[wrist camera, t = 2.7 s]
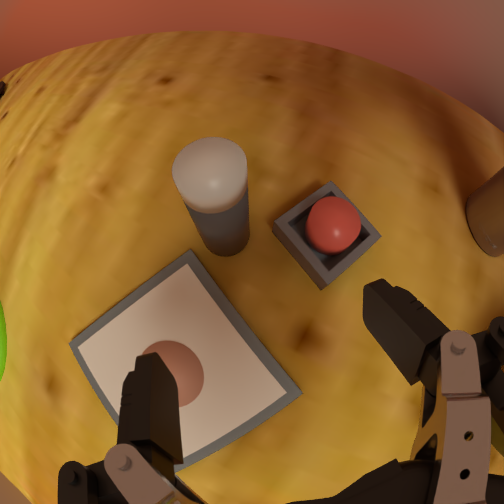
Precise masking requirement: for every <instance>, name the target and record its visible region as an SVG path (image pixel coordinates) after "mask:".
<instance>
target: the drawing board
mask: <svg viewBox="0 0 504 504" xmlns="http://www.w3.org/2000/svg"><path fill="white" fill-rule="evenodd" d="M69 345H70V347H71V349H72V351H73V353H74V355H75V357H76V359H77V361H78V363H79V365H80V367H81V368H82V370H83V372H84V374H85V376H86V377H87V379H88V381H89V383H90V384H91V386H92V388H93V389H94V391H95V392H96V394H97V396H98V397H99V399H100V400H101V402H102V404H103V405H104V407H105V408H106V410H107V411H108V413H109V414H110V416H111V417H112V418H113V420H114V421H115V423H116V424H117V425H118V423H119V412H120V407H121V405H120V403H121V397H122V395H121V394H122V386H123V382H124V380H125V378H126V376H127V374H128V372H130V371H134V369H135V361H136V357H137V356H139V355H144V354H148V353H152V352H157V353H158V354H159V356H160V357H161V359H162V360H163V362H164V363H165V364H166V366H167V367H168V369H169V370H170V372H171V373H172V374H173V376H174V378H175V380H176V383H177V387H178V398H179V415H180V429H181V441H182V451H183V461H184V464H178V465H174V472H178V471H180V470H182V469H184V468H186V467H188V466H190V465H192V464H194V463H196V462H198V461H200V460H201V459H203V458H205V457H207V456H209V455H211V454H212V453H214V452H216V451H218V450H220V449H221V448H223V447H225V446H226V445H228V444H230V443H231V442H233V441H235V440H236V439H238V438H240V437H241V436H243V435H244V434H246V433H248V432H249V431H251V430H252V429H254V428H255V427H257V426H258V425H260V424H261V423H263V422H264V421H266V420H267V419H269V418H270V417H272V416H273V415H274V414H276V413H277V412H279V411H280V410H281V409H283V408H284V407H286V406H287V405H288V404H290V403H291V402H292V401H294V400H295V399H296V398H298V397H299V396H300V395H301V394H303V393H302V391H301V390H300V389H299V388H298V387H297V385H296V384H295V383H294V382H293V381H292V380H291V378H290V377H289V376H288V375H287V374H286V372H285V371H284V370H283V369H282V368H281V366H280V365H279V364H278V363H277V361H276V360H275V359H274V358H273V357H272V355H271V354H270V353H269V352H268V350H267V349H266V348H265V347H264V345H263V344H262V343H261V342H260V340H259V339H258V338H257V337H256V335H255V334H254V333H253V331H252V330H251V329H250V328H249V326H248V325H247V324H246V323H245V321H244V320H243V319H242V317H241V316H240V315H239V313H238V312H237V311H236V310H235V308H234V307H233V306H232V304H231V303H230V302H229V300H228V299H227V298H226V296H225V295H224V294H223V292H222V291H221V290H220V288H219V287H218V286H217V284H216V283H215V282H214V280H213V279H212V278H211V276H210V275H209V274H208V272H207V271H206V269H205V268H204V267H203V265H202V264H201V263H200V261H199V260H198V258H197V257H196V256H195V254H194V253H193V251H192V250H191V249H190V250H188V251H187V252H186V253H184V254H183V255H182V256H180V257H179V258H177V259H176V260H175V261H173V262H172V263H171V264H169V265H168V266H167V267H165V268H164V269H163V270H161V271H160V272H159V273H157V274H156V275H155V276H153V277H152V278H151V279H149V280H148V281H147V282H145V283H144V284H143V285H141V286H140V287H139V288H137V289H136V290H135V291H134V292H132V293H131V294H130V295H128V296H127V297H126V298H124V299H123V300H122V301H121V302H119V303H118V304H117V305H116V306H114V307H113V308H112V309H110V310H109V311H108V312H107V313H105V314H104V315H103V316H102V317H100V318H99V319H98V320H97V321H95V322H94V323H93V324H92V325H90V326H89V327H88V328H87V329H85V330H84V331H83V332H82V333H81V334H79V335H78V336H77V337H76V338H74V339H73V340H72V341H71V342H70V343H69Z"/></svg>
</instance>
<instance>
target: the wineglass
mask: <svg viewBox="0 0 504 504" xmlns="http://www.w3.org/2000/svg"><path fill="white" fill-rule="evenodd" d="M6 355H7V336H6V325H5V318H4V313H3V308H2V305H1V302H0V381H1V379H2V376H3V372H4V369H5V362H6Z"/></svg>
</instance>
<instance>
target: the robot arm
mask: <svg viewBox="0 0 504 504" xmlns="http://www.w3.org/2000/svg"><path fill="white" fill-rule="evenodd" d="M466 213H467V219H468V223H469V226H470V229H471V232H472V234H473V236H474V238H475V240H476V241H477V243H478V244H479V246H480V247H481V248H482V249H483V250H484V251H485V252H486V253H487V254H489V255H490V256H494V257H497V256H500V255H502V254H504V167H503V168H502V169H500V170H499V171H498V172H497V173H496V174H495V175H494V176H493V177H491V178H490V179H489V180H488V181H487V182H486V183H484V184H483V185H482V186H481V187H480V188H478V189H477V190H476V191H475V192H474V193H473V194H471V195H470V197H469V198H468V201H467V205H466ZM363 320H364V323H365V325H366V327H367V329H368V330H369V331H370V333H371V334H372V335H373V336H374V338H375V339H376V340H377V342H378V343H379V344H380V345H381V347H382V348H383V349H384V351H385V352H386V353H387V355H388V356H389V357H390V358H391V360H392V361H393V362H394V364H395V365H396V366H397V368H398V369H399V370H400V372H401V373H402V374H403V376H404V377H405V378H406V380H407V381H408V382H409V384H410V385H411V386H412V385H413V384H415V383H416V382H418V381H421V382H422V383H423V387H422V397H421V408H420V417H419V425H418V431H417V435H416V438H415V440H414V443H413V446H412V450H411V455H410V460H408V461H403V462H399V463H398V461H397V459H394V460H392V461H390V462H388V463H387V464H385V465H383V466H381V467H379V468H377V469H375V470H373V471H371V472H369V473H367V474H365V475H364V476H362V477H361V478H360V479H358V480H357V481H356V482H354V483H353V484H351V485H350V486H349V487H347V488H346V489H344V490H343V491H341V492H340V493H338V494H337V495H335V496H333V497H329V498H323V499H315V500H306V501H295V502H290V503H287V504H504V476H502V475H495V474H488V471H489V461H490V446H491V415H492V417H493V418H494V420H495V422H496V423H497V425H498V426H499V428H500V429H501V431H502V432H503V434H504V373H503V371H502V370H501V369H500V368H501V367H502V365H504V317H496V318H494V319H493V320H492V321H491V323H490V325H489V328H488V330H486V331H483V332H480V333H477V334H474V335H470V334H468V333H466V332H464V331H460V330H453V331H450V330H449V329H448V328H447V327H446V326H445V325H444V324H443V323H442V322H441V321H440V320H439V319H438V318H437V317H436V316H435V315H434V314H433V313H432V312H431V311H430V310H429V309H427V308H426V307H424V305H423V304H422V303H421V302H420V301H419V300H417V298H416V297H415V296H413V295H412V294H411V293H410V292H409V291H407V290H405V289H403V288H401V287H398V286H395V287H392V286H391V285H390V284H389V283H388V282H387V281H386V280H385V279H382V278H381V279H379V280H376V281H374V282H371V283H369V284H367V285H365V286H364V289H363ZM121 395H122V397H121V403H120V405H121V407H120V412H119V423H118V437H117V444H116V445H115V446H114V447H112V448H111V449H110V450H109V451H108V452H107V454H106V456H105V460H103V461H100V462H97V463H94V464H91V465H88V466H84V465H82V464H80V463H79V462H76V461H69V462H67V463H65V464H64V465H63V466H62V467H61V469H60V471H59V475H58V504H208V503H207V502H206V501H204V500H203V499H202V498H201V497H200V496H199V495H197V494H196V493H195V492H194V491H193V490H192V489H191V488H190V487H188V486H187V485H186V484H185V483H184V482H183V481H182V480H181V479H180V478H179V477H178V476H177V475H176V474H175V472H174V465H178V464H184V461H183V451H182V441H181V429H180V415H179V398H178V387H177V383H176V380H175V378H174V376H173V374H172V373H171V372H170V370H169V369H168V367H167V366H166V364H165V363H164V362H163V360H162V359H161V357H160V356H159V354H158V353H157V352H152V353H148V354H144V355H139V356H137V357H136V361H135V369H134V371H130V372H128V374H127V376H126V378H125V380H124V382H123V386H122V394H121Z"/></svg>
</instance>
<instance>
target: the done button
mask: <svg viewBox="0 0 504 504" xmlns="http://www.w3.org/2000/svg"><path fill="white" fill-rule="evenodd" d="M304 230H305V237H306V239H307V241H308V243H309V245H310V246H311V247H312V248H313V249H314V250H315V251H317V252H319V253H321V254H324V255H330V256H332V255H337V254H340V253H342V252H343V251H345V250H346V249H347V248H348V247H349V246H350V245H351V244H352V242H353V241H354V240H355V239H356V238H357V237H358V235H359V233H360V230H361V220H360V216H359V214H358V212H357V210H356V209H355V207H354V206H353V205H352V204H351V203H349V202H348V201H346V200H344V199H342V198H339V197H333V196H331V197H325V198H322V199H320V200H318V201H317V202H316V203H315V204H314V205H313V207H312V209H311V211H310V214H309V216H308V218H307V221H306V223H305V228H304Z"/></svg>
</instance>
